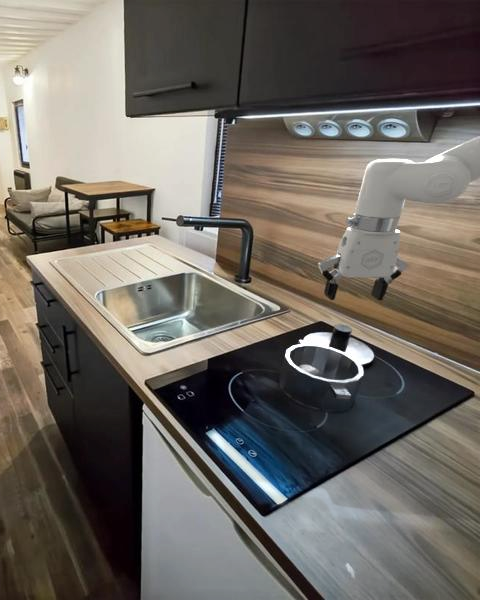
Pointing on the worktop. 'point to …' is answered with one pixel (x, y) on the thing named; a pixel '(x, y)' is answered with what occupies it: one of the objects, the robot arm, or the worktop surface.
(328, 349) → the pot
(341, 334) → the lid
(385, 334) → the worktop surface
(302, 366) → the dumpling
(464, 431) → the worktop surface
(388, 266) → the robot arm
